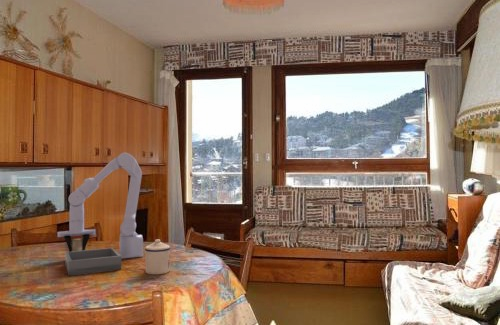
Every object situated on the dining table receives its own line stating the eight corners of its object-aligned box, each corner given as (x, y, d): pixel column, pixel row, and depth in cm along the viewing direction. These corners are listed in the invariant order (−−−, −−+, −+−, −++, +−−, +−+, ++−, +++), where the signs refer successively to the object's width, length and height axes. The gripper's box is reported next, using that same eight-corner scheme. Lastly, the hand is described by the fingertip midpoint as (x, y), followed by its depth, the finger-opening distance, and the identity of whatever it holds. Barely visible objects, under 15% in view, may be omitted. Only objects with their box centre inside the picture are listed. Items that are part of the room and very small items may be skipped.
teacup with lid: (174, 272, 152) (174, 240, 152) (150, 276, 146) (150, 242, 147) (161, 266, 161) (161, 235, 162) (138, 269, 156) (138, 238, 156)
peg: (82, 257, 177) (82, 238, 177) (83, 259, 173) (83, 240, 173) (70, 258, 175) (70, 239, 175) (71, 260, 171) (71, 241, 171)
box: (113, 259, 172) (113, 247, 172) (121, 269, 156) (121, 256, 156) (65, 264, 164) (65, 252, 164) (68, 275, 148) (68, 261, 148)
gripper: (94, 218, 181) (94, 249, 181) (57, 220, 174) (57, 253, 174) (96, 220, 175) (96, 252, 175) (58, 222, 168) (58, 256, 168)
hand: (76, 253), depth 174 cm, fingers closed on peg, 4 cm apart
